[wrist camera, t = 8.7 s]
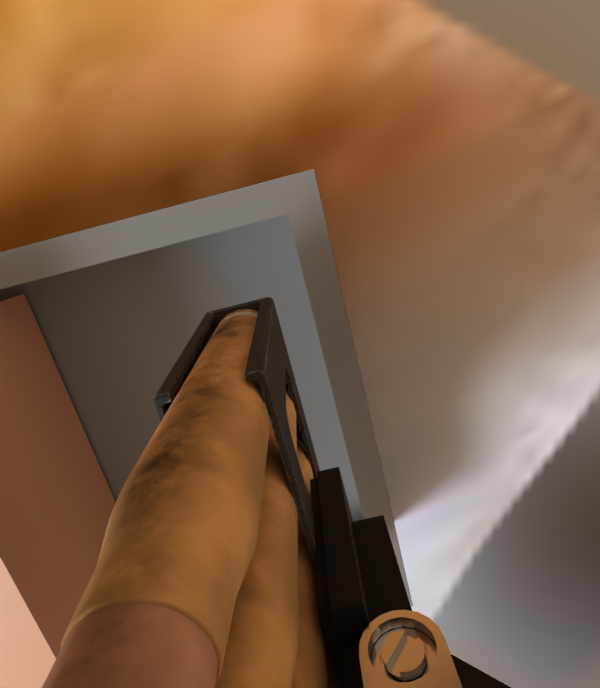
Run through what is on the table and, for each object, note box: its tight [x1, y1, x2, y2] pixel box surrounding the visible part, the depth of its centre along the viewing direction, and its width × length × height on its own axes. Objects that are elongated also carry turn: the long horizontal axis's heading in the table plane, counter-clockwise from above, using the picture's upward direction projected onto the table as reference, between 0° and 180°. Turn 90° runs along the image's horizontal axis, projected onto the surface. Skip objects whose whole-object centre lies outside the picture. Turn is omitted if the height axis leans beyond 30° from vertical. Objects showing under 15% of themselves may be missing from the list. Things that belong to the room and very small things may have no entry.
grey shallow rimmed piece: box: [0, 169, 413, 606], centre depth 18 cm, size 20×16×4 cm
